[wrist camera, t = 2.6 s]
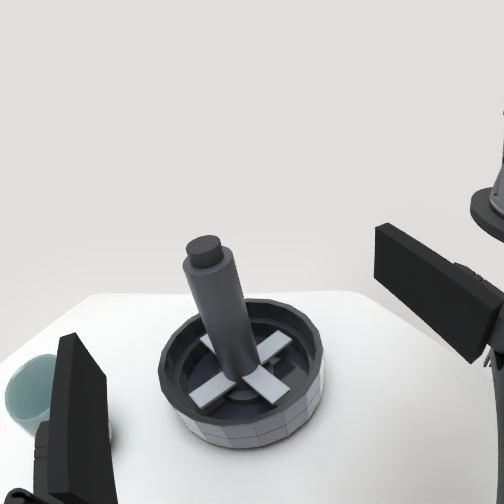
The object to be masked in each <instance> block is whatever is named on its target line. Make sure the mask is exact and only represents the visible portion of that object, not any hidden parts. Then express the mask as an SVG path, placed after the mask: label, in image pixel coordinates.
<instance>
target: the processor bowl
mask: <svg viewBox="0 0 504 504" xmlns="http://www.w3.org/2000/svg"><path fill="white" fill-rule="evenodd" d="M244 300H245V304H246V308H247V312H248V316H249V319H250V323H251V327H252V331H253V335H254V339H255V342H256V346H258V345H259V344H260V343H262V342H263V341H264V340H266V339H267V338H268V337H270V336H271V335H272V334H274V333H275V332H276V331H278V330H279V331H280V332H282V333H283V334H285V335H286V336H288V337H289V338H291V339H292V342H291V343H290V344H289V345H288V346H286V347H285V348H284V349H283V350H281V351H280V352H279V353H278V354H276V355H275V356H274V357H272V358H271V359H270V360H269V362H270V363H271V365H272V366H273V369H274V373H275V377H276V378H277V379H278V380H280V381H281V382H282V383H283V384H285V385H286V386H287V387H289V388H290V390H291V391H290V392H289V393H288V394H287V395H285V396H284V397H283V398H282V399H281V400H279V401H278V402H277V403H276V404H275V405H272V404H271V403H269V402H268V401H267V400H266V399H265V398H264V399H263V400H261V401H259V402H257V403H254V404H249V405H238V404H234V403H232V402H229V401H228V400H226V399H225V398H224V397H223V396H221V397H219V398H218V399H216V400H215V401H213V402H212V403H211V404H209V405H208V406H206V407H205V408H203V409H202V410H201V409H200V408H199V407H198V406H197V404H196V403H195V402H194V401H193V400H192V399H191V398H190V396H189V394H190V393H192V392H193V391H195V390H196V389H197V388H199V387H200V386H202V385H203V384H205V383H206V382H208V381H209V380H211V379H212V378H213V377H215V376H216V375H218V372H219V370H220V368H221V366H220V364H219V361H218V359H217V356H216V355H215V354H214V353H213V352H212V351H211V350H210V349H209V348H208V347H206V346H205V345H204V344H203V343H202V342H201V341H200V338H201V337H203V336H204V335H206V334H207V331H206V329H205V326H204V324H203V321H202V318H201V316H200V313H198V314H197V315H195V316H193V317H192V318H190V319H188V320H187V321H186V322H185V323H184V324H183V325H182V326H181V327H180V328H179V329H178V330H176V331H175V332H174V333H173V334H172V335H171V337H170V339H169V340H168V342H167V344H166V345H165V347H164V349H163V350H162V353H161V357H160V362H159V366H158V376H159V381H160V386H161V390H162V392H163V394H164V395H165V396H166V398H167V399H168V401H169V402H170V404H171V405H172V406H173V408H174V409H175V411H176V412H177V413H178V415H179V416H180V418H181V419H182V420H183V422H184V423H185V424H186V426H187V427H188V428H189V430H190V431H191V432H193V433H194V434H196V435H197V436H199V437H201V438H202V439H204V440H206V441H207V442H209V443H211V444H215V445H220V446H224V447H229V448H234V449H239V448H251V447H261V446H265V445H267V444H270V443H272V442H275V441H277V440H280V439H282V438H284V437H287V436H289V435H290V434H291V433H293V432H294V431H295V430H296V429H297V428H299V427H300V426H301V425H302V424H304V423H305V422H306V421H307V420H308V419H309V418H310V416H311V414H312V413H313V411H314V409H315V408H316V406H317V405H318V403H319V401H320V399H321V395H322V389H323V384H324V354H323V346H322V342H321V338H320V334H319V331H318V329H317V328H316V327H315V326H314V324H313V323H312V322H311V320H310V319H309V318H308V317H307V315H305V314H304V313H302V312H300V311H299V310H297V309H296V308H294V307H292V306H291V305H288V304H285V303H281V302H278V301H274V300H271V299H252V298H249V299H248V298H247V299H244Z"/></svg>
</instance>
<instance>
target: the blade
mask: <svg viewBox="0 0 504 504" xmlns="http://www.w3.org/2000/svg"><path fill="white" fill-rule="evenodd" d="M186 251H187V254H188V257H187V258H186V259H185V260H184V262H183V270H184V272H185V275H186V278H187V281H188V284H189V286H190V289H191V292H192V294H193V297H194V300H195V303H196V305H197V308H198V311H199V313H200V316H201V318H202V321H203V324H204V326H205V329H206V331H207V334H206V335H204V336H203V337H201V338H200V341H201V342H202V343H203V344H204V345H205V346H206V347H208V348H209V349H210V350H211V351H212V352H213V353H214V354H215V355H216V356H217V359H218V361H219V364H220V366H221V368H220V370H219V372H218V375H216V376H215V377H213V378H212V379H211V380H209V381H208V382H206V383H205V384H203V385H202V386H200V387H199V388H197V389H196V390H195V391H193V392H192V393H190V394H189V396H190V398H191V399H192V400H193V401H194V402H195V403H196V404H197V406H198V407H199V408H200V409H201V410H202V409H203V408H205V407H206V406H208V405H209V404H211V403H212V402H213V401H215V400H216V399H218V398H219V397H221V396H223V397H224V398H225V399H226V400H228V401H229V402H232V403H234V404H238V405H249V404H254V403H257V402H259V401H261V400H263V399H264V398H265V399H266V400H267V401H268V402H269V403H271V404H272V405H275V404H276V403H277V402H278V401H279V400H281V399H282V398H283V397H284V396H285V395H287V394H288V393H289V392H290V391H291V390H290V388H289V387H287V386H286V385H285V384H283V383H282V382H281V381H280V380H278V379H277V378H276V377H275V373H274V369H273V366H272V365H271V363H270V362H269V360H270V359H271V358H272V357H274V356H275V355H276V354H278V353H279V352H280V351H281V350H283V349H284V348H285V347H286V346H288V345H289V344H290V343H291V342H292V339H291V338H289V337H288V336H286V335H285V334H283V333H282V332H280V331H279V330H278V331H276V332H275V333H274V334H272V335H271V336H270V337H268V338H267V339H266V340H264V341H263V342H262V343H260V344H259V345H258V346H256V342H255V339H254V335H253V331H252V327H251V323H250V319H249V316H248V312H247V308H246V304H245V300H244V296H243V292H242V289H241V285H240V281H239V277H238V273H237V269H236V265H235V261H234V258H233V253H232V251H231V250H230V249H229V248H227V247H224V246H221V242H220V239H219V238H218V237H217V236H213V235H206V236H201V237H198V238H196V239H194V240H192V241H191V242H189V243H188V245H187V246H186Z"/></svg>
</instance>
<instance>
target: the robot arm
mask: <svg viewBox="0 0 504 504" xmlns="http://www.w3.org/2000/svg"><path fill="white" fill-rule="evenodd" d="M503 115H504V112H503ZM489 205H490V207H491V209H492V210H493V212H494V213H495V214H497V215H498V216H499V217H500V218H502V219H503V220H504V144H503V159H502V167H501V169H500V172H499V174H498V176H497V179H496V181H495V183H494V186H493V188H492V190H491V193H490V199H489ZM374 278H375V279H376V280H377V281H378V282H379V283H381V284H382V285H383V286H384V287H385V288H387V289H388V290H389V291H390V292H391V293H392V294H394V295H395V296H396V297H397V298H398V299H399V300H400V301H402V302H403V303H404V304H405V305H406V306H407V307H409V308H410V309H411V310H412V311H413V312H414V313H415V314H416V315H417V316H419V317H420V318H421V319H422V320H423V321H424V322H425V323H426V324H428V325H429V326H430V327H431V328H432V329H433V330H434V331H435V332H436V333H437V334H439V335H440V336H441V337H442V338H443V339H444V340H445V341H446V342H447V343H448V344H449V345H450V346H452V347H453V348H454V349H455V350H456V351H457V352H458V353H459V354H460V355H461V356H462V357H463V358H464V359H465V360H466V361H467V362H468V363H470V364H472V363H473V362H474V361H475V360H476V359H477V358H479V356H481V355H482V354H483V351H484V349H485V347H486V345H487V344H488V345H489V346H491V349H490V351H489V353H488V355H487V357H486V359H485V361H484V367H486V366H487V364H488V362H489V360H491V363H490V365H489V367H492V374H493V382H494V390H495V399H496V411H497V426H498V488H497V502H496V504H504V293H503V292H502V291H501V290H499V289H498V288H497V287H495V286H494V285H492V284H491V283H489V282H488V281H487V280H484V279H483V278H482V277H481V276H480V275H478V274H477V275H476V273H475V272H474V271H472V270H471V269H469V268H468V267H466V266H464V265H461V264H458V263H453V264H452V263H451V262H449V261H448V260H447V259H445V258H444V257H442V256H440V255H439V254H437V253H436V252H434V251H433V250H431V249H430V248H428V247H427V246H425V245H423V244H422V243H420V242H419V241H417V240H416V239H414V238H413V237H411V236H409V235H408V234H406V233H405V232H403V231H401V230H399V229H398V228H396V227H394V226H393V225H391V224H390V223H385V224H383V225H380V226H377V227H375V261H374ZM34 458H35V460H34V475H33V494H32V493H30V492H29V491H27V490H25V489H22V488H15V489H13V490H11V491H10V492H9V493H8V494H7V496H6V498H5V502H4V504H118V500H117V494H116V488H115V481H114V473H113V465H112V456H111V447H110V436H109V422H108V406H107V377H106V375H105V374H104V373H103V371H102V370H101V369H100V367H99V366H98V365H97V363H96V362H95V360H94V359H93V358H92V356H91V355H90V353H89V352H88V350H87V349H86V347H85V346H84V344H83V343H82V341H81V340H80V338H79V337H78V335H77V334H76V332H75V333H72V334H69V335H66V336H62V337H60V340H59V345H58V351H57V357H56V364H55V371H54V378H53V386H52V394H51V404H50V415H49V420H47V421H42V422H40V425H39V427H38V429H37V432H36V434H35V450H34Z"/></svg>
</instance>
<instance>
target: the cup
mask: <svg viewBox="0 0 504 504" xmlns="http://www.w3.org/2000/svg"><path fill="white" fill-rule="evenodd" d="M56 357H57V356H56V355H53V354H44V355H41V356H38V357H36V358H33V359H32V360H30V361H28V362H27V363H25V364H24V365H23V366H22V367H20V368H19V369H18V370H17V371H16V373H15V374H14V375H13V376H12V378H11V379H10V381H9V383H8V385H7V388H6V392H5V405H6V408H7V411H8V413H9V415H10V416H11V418H12V419H13V420H14V421H15V422H16V423H17V424H18V425H19V426H20V427H21V428H22V429H23V430H25V431H26V432H27V433H28V434H29V435H30V436H32V437H33V438H34V439H35V434H36V432H37V429H38V427H39V425H40V422H42V421H47V420H49V415H50V404H51V394H52V386H53V378H54V371H55V364H56ZM108 422H109V420H108ZM109 436H110V443H111V439H112V431H111V426H110V423H109Z"/></svg>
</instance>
